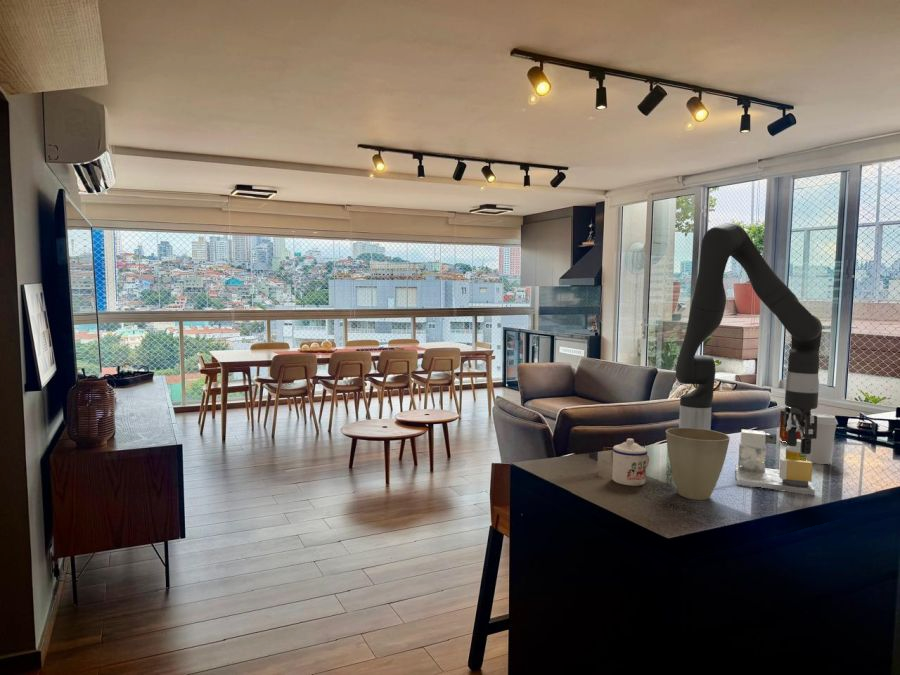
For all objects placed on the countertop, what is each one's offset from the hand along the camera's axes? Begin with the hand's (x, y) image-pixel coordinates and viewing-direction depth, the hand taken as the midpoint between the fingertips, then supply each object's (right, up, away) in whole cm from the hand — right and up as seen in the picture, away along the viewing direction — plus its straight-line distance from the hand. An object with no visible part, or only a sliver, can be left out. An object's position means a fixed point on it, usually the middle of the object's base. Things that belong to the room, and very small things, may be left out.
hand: (798, 449), depth 157 cm
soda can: (+32, -9, +59) cm, 68 cm away
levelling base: (-3, -10, +7) cm, 13 cm away
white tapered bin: (+24, -10, +30) cm, 40 cm away
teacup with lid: (-43, -10, +4) cm, 44 cm away
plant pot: (-31, -10, -8) cm, 34 cm away
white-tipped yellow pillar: (-1, -9, 0) cm, 9 cm away
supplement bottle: (+9, -10, +17) cm, 22 cm away
